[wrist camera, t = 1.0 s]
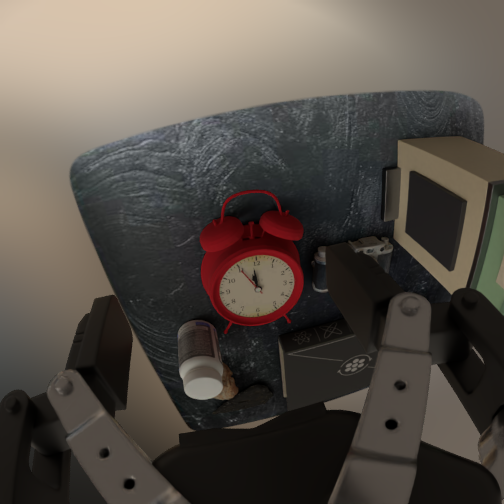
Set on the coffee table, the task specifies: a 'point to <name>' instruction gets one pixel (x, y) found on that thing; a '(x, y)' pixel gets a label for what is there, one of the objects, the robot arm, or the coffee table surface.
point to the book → (323, 363)
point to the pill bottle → (200, 359)
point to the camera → (367, 245)
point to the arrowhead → (246, 399)
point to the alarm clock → (252, 266)
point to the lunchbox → (494, 262)
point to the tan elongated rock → (227, 385)
